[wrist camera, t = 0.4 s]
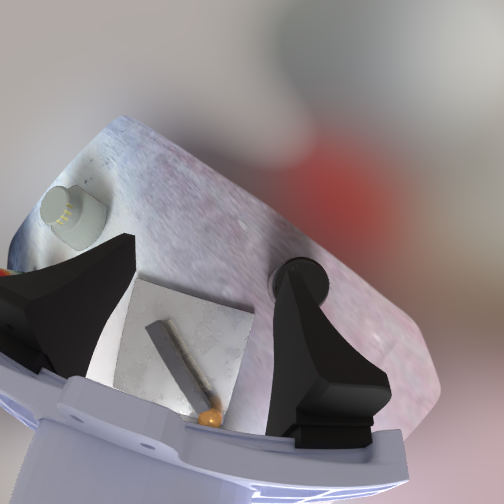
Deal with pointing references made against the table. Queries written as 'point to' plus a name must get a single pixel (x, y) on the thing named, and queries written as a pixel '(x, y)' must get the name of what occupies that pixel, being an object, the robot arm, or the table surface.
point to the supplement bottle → (309, 272)
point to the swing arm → (183, 376)
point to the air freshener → (73, 216)
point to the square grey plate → (181, 347)
